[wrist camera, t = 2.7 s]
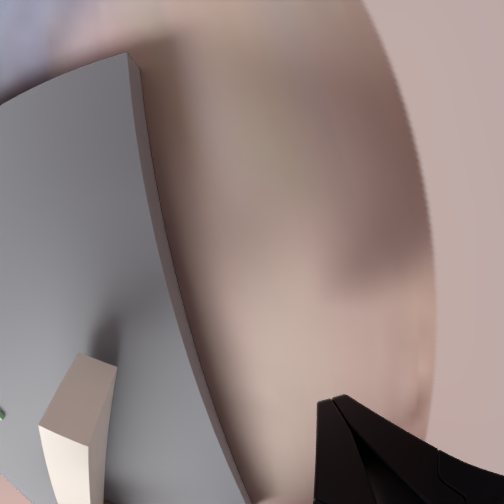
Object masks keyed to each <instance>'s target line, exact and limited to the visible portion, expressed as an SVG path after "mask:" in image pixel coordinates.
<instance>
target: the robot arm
mask: <svg viewBox="0 0 504 504" xmlns="http://www.w3.org/2000/svg"><path fill="white" fill-rule="evenodd" d="M313 504H504V476H503V475H500V474H496V473H493V472H490V471H487V470H484V469H481V468H478V467H476V466H473V465H470V464H468V463H465V462H463V461H460V460H459V459H457V458H454V457H452V456H450V455H448V454H447V453H445V452H443V451H441V450H438V449H437V448H435V447H433V446H431V445H430V444H428V443H426V442H424V441H423V440H421V439H419V438H417V437H416V436H414V435H412V434H410V433H409V432H407V431H405V430H403V429H402V428H400V427H398V426H397V425H395V424H393V423H391V422H390V421H388V420H386V419H385V418H383V417H382V416H380V415H378V414H377V413H375V412H373V411H372V410H370V409H368V408H367V407H365V406H364V405H362V404H360V403H359V402H357V401H356V400H354V399H353V398H351V397H349V396H348V395H345V394H343V395H340V396H336V397H333V398H332V399H326V400H322V401H319V402H317V430H316V462H315V482H314V501H313Z"/></svg>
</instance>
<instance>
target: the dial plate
mask: <svg viewBox="0 0 504 504" xmlns="http://www.w3.org/2000/svg"><path fill="white" fill-rule="evenodd" d="M79 352H80V353H82V354H84V355H87V356H89V357H92V358H95V359H97V360H100V361H102V362H105V363H108V364H110V365H113V366H116V367H117V373H116V379H115V385H114V392H113V398H112V406H111V413H110V421H109V430H108V439H107V450H106V462H105V478H104V500H105V501H107V502H109V503H111V504H252V503H251V500H250V498H249V496H248V494H247V491H246V489H245V486H244V484H243V482H242V479H241V477H240V474H239V472H238V469H237V467H236V464H235V462H234V459H233V457H232V454H231V452H230V449H229V446H228V444H227V441H226V438H225V436H224V433H223V430H222V427H221V425H220V422H219V419H218V416H217V413H216V410H215V407H214V405H213V402H212V399H211V396H210V393H209V390H208V387H207V384H206V380H205V377H204V374H203V371H202V368H201V365H200V361H199V358H198V355H197V351H196V348H195V345H194V341H193V338H192V334H191V331H190V327H189V324H188V320H187V317H186V313H185V309H184V305H183V302H182V298H181V294H180V290H179V286H178V282H177V278H176V274H175V270H174V266H173V262H172V257H171V253H170V249H169V244H168V240H167V235H166V230H165V226H164V221H163V216H162V211H161V206H160V201H159V196H158V191H157V185H156V180H155V174H154V168H153V163H152V156H151V150H150V144H149V137H148V131H147V123H146V116H145V109H144V101H143V92H142V83H141V74H140V68H139V67H138V66H137V64H136V63H135V62H134V60H133V59H132V58H131V56H130V55H129V54H128V52H125V53H122V54H118V55H115V56H112V57H109V58H105V59H102V60H99V61H97V62H94V63H91V64H88V65H85V66H83V67H80V68H77V69H75V70H72V71H70V72H67V73H65V74H62V75H60V76H58V77H55V78H53V79H51V80H49V81H46V82H44V83H42V84H40V85H38V86H36V87H34V88H32V89H30V90H28V91H26V92H24V93H22V94H20V95H18V96H16V97H14V98H12V99H10V100H9V101H7V102H5V103H3V104H2V105H0V474H1V475H3V476H4V478H5V479H6V480H7V481H8V482H10V483H11V484H12V485H13V486H14V487H15V488H16V489H17V490H18V491H19V492H20V493H21V494H22V495H23V496H25V497H26V498H27V499H28V500H29V501H30V502H31V503H33V504H57V500H56V497H55V493H54V490H53V487H52V483H51V480H50V476H49V473H48V469H47V465H46V461H45V456H44V452H43V447H42V443H41V437H40V432H39V426H38V425H39V423H40V421H41V419H42V417H43V415H44V413H45V411H46V409H47V407H48V406H49V404H50V402H51V400H52V398H53V396H54V395H55V393H56V391H57V389H58V387H59V386H60V384H61V382H62V380H63V379H64V377H65V375H66V374H67V372H68V370H69V368H70V367H71V365H72V363H73V362H74V360H75V358H76V357H77V355H78V353H79Z"/></svg>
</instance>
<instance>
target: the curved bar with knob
mask: <svg viewBox="0 0 504 504" xmlns="http://www.w3.org/2000/svg"><path fill="white" fill-rule="evenodd" d="M116 373H117V367H116V366H113V365H110V364H108V363H105V362H102V361H100V360H97V359H95V358H92V357H89V356H87V355H84V354H82V353H80V352H79V353H78V355H77V357H76V358H75V360H74V362H73V363H72V365H71V367H70V368H69V370H68V372H67V374H66V375H65V377H64V379H63V380H62V382H61V384H60V386H59V387H58V389H57V391H56V393H55V395H54V396H53V398H52V400H51V402H50V404H49V406H48V407H47V409H46V411H45V413H44V415H43V417H42V419H41V421H40V423H39V425H38V426H39V432H40V437H41V443H42V447H43V452H44V456H45V461H46V465H47V469H48V473H49V476H50V480H51V483H52V487H53V490H54V493H55V497H56V500H57V504H111V503H109V502H107V501H105V500H104V478H105V462H106V450H107V439H108V430H109V421H110V413H111V406H112V398H113V392H114V385H115V379H116Z"/></svg>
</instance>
